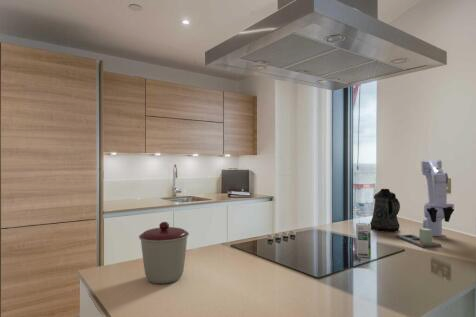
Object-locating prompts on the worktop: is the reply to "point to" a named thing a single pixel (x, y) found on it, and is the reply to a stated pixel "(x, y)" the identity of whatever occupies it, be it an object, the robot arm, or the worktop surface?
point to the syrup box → (363, 239)
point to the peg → (425, 235)
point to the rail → (418, 243)
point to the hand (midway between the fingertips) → (440, 221)
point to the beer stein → (385, 212)
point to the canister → (164, 253)
